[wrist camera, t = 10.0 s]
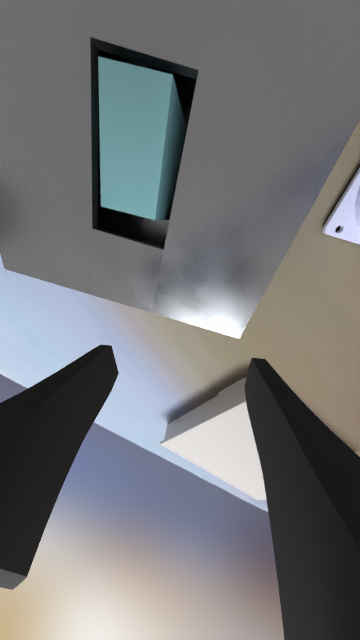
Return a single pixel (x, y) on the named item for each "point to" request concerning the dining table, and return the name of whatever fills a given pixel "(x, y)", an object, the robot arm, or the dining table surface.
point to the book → (220, 440)
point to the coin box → (198, 153)
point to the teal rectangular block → (139, 139)
